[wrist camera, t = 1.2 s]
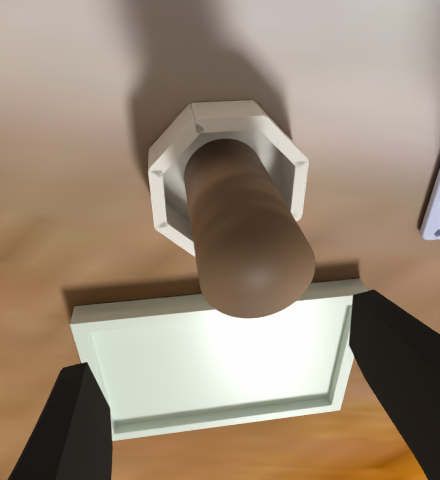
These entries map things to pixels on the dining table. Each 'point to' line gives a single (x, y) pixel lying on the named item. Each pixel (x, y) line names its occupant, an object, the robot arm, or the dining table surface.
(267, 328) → the sage tray
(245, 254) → the dowel pin
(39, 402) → the dining table surface
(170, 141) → the white octagonal dish
